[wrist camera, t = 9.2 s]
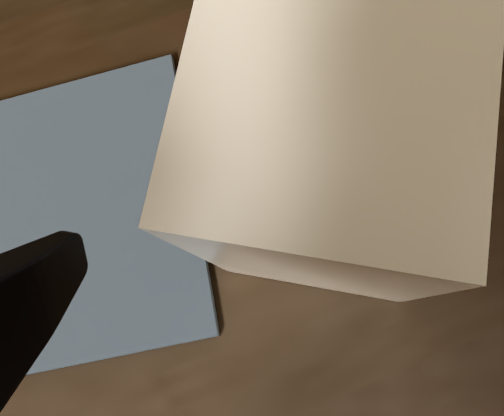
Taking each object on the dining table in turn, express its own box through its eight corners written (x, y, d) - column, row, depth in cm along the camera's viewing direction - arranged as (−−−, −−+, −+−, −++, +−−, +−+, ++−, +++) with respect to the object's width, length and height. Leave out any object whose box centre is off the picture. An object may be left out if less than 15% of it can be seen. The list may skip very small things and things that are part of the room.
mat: (220, 335, 19) (218, 336, 19) (-71, 394, 20) (-78, 395, 20) (173, 58, 23) (170, 54, 22) (-70, 124, 24) (-76, 121, 24)
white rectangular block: (399, 302, 18) (486, 286, 9) (228, 271, 20) (138, 228, 10) (418, 136, 20) (509, -34, 10) (258, 119, 21) (205, -45, 12)
